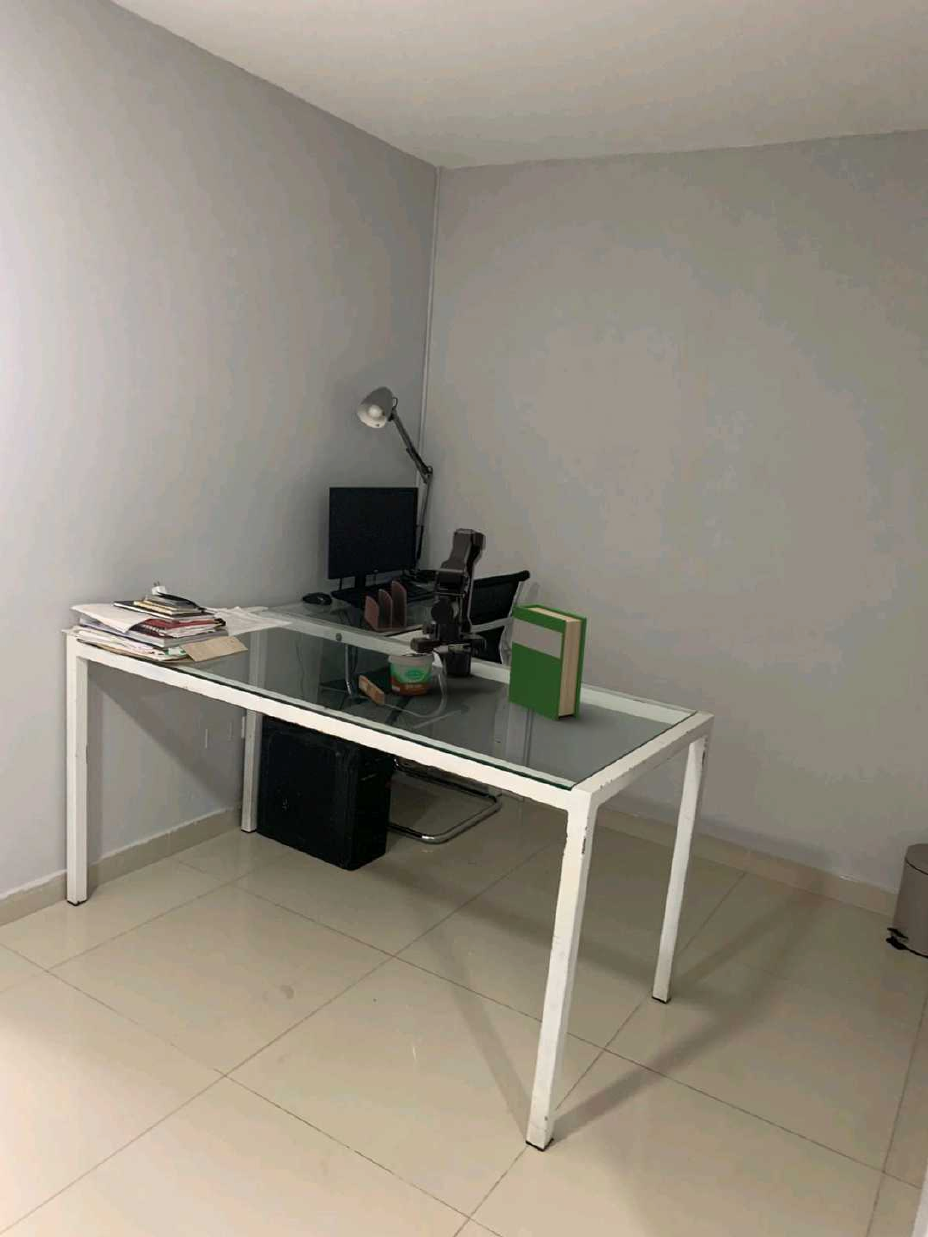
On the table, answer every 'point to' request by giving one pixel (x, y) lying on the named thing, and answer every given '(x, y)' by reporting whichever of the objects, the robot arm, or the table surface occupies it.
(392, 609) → the letter holder
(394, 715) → the table surface
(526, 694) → the hardback book
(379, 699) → the rail
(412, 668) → the food container
